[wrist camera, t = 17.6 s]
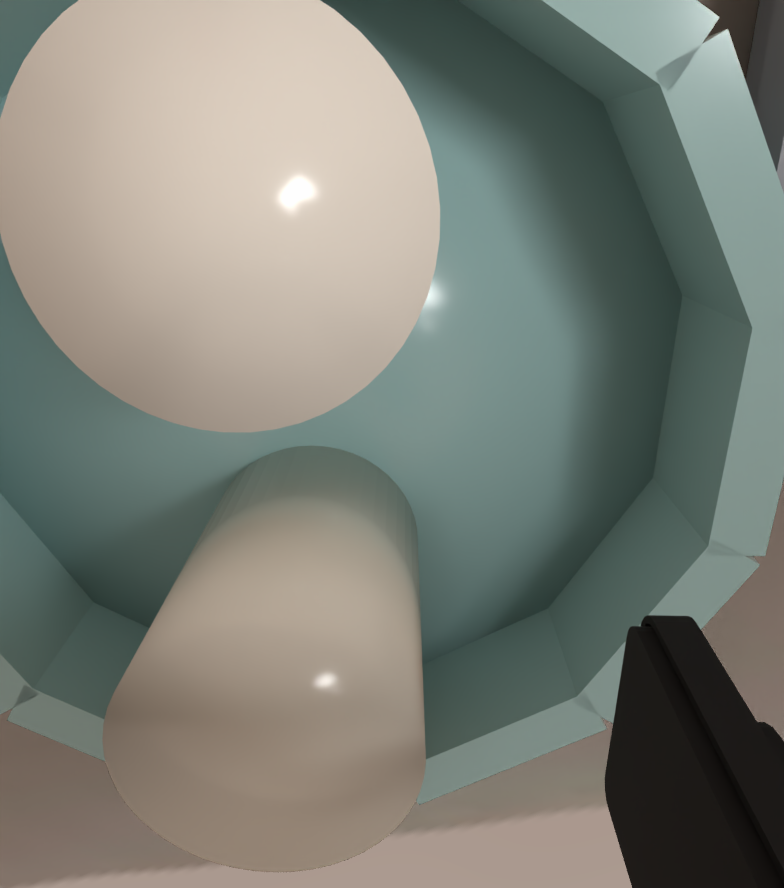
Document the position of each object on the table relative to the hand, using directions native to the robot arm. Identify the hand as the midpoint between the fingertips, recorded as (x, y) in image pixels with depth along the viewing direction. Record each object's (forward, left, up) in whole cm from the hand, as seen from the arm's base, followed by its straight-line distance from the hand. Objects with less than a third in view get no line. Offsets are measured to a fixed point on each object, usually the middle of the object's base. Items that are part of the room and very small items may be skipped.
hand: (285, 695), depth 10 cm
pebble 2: (0, +1, -6) cm, 6 cm away
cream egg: (0, -6, -6) cm, 8 cm away
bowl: (0, -3, -7) cm, 7 cm away
